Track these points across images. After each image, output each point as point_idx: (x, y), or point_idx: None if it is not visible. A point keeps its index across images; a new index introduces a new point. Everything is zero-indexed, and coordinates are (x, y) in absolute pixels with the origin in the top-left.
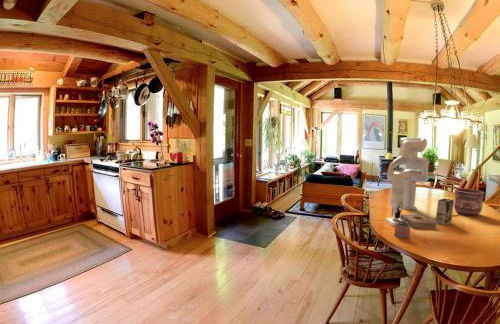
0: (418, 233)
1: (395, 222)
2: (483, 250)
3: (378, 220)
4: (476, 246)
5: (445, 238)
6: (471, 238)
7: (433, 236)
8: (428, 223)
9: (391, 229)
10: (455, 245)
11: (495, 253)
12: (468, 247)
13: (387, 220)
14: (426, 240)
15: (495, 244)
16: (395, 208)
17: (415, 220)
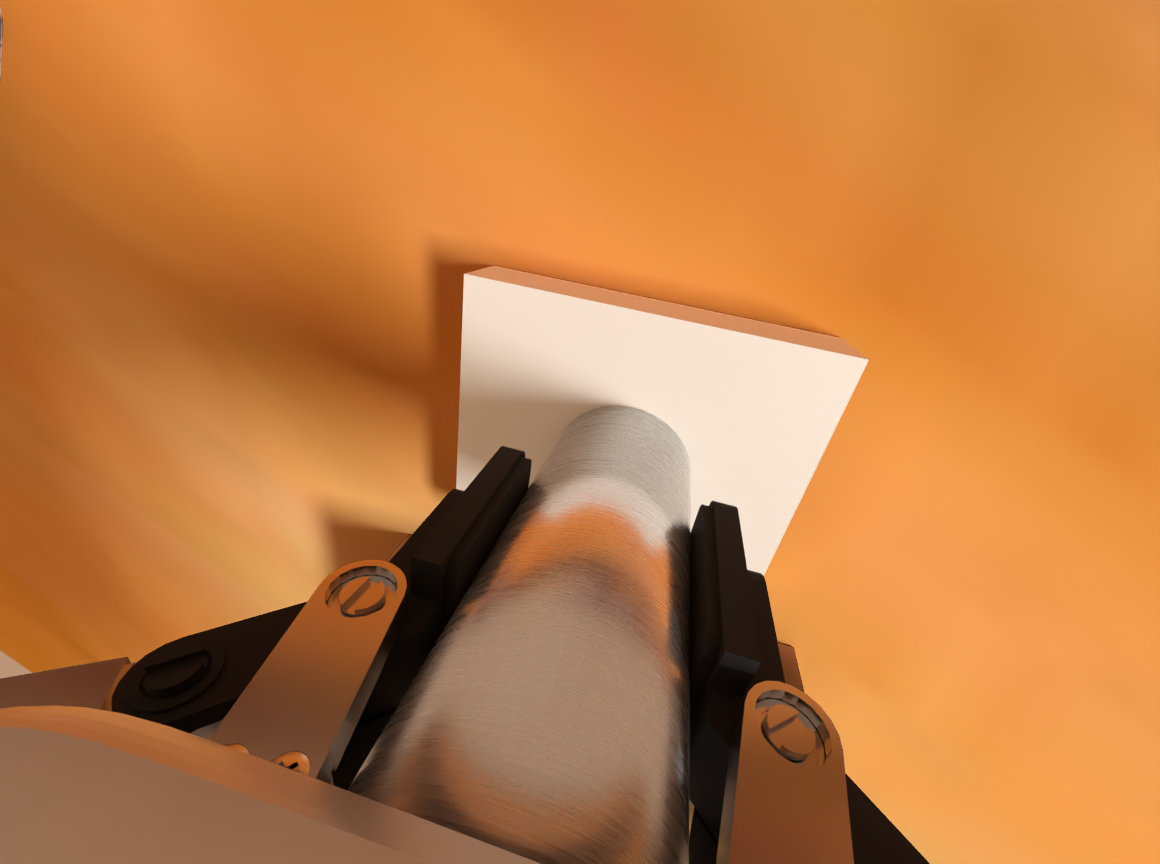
0: (212, 459)
1: (488, 375)
2: (23, 639)
3: (935, 129)
4: (79, 659)
5: (159, 602)
6: None
7: (171, 545)
8: None
9: (270, 98)
10: (19, 548)
11: (9, 656)
12: (28, 600)
13: (728, 322)
14: (6, 381)
15: None
16: (391, 742)
17: None
